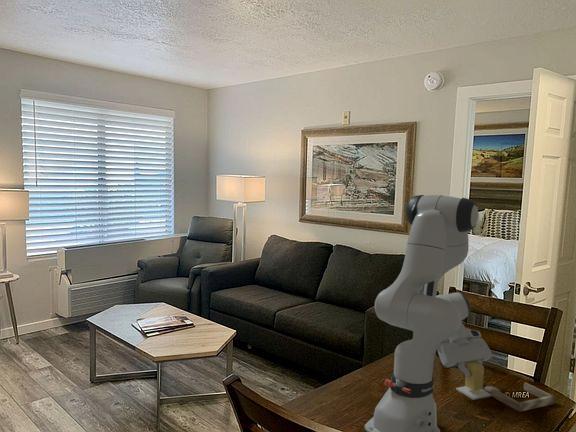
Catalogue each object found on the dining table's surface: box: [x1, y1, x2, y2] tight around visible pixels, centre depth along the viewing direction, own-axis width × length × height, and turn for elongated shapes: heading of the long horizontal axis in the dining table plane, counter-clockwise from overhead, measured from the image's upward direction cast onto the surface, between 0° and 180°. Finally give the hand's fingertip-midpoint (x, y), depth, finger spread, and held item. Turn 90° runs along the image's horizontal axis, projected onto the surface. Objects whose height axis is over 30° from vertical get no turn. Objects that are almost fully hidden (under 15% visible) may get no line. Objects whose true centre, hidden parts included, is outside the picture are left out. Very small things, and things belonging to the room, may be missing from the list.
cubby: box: [491, 382, 556, 413], centre depth 148 cm, size 16×11×2 cm
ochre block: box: [464, 362, 485, 391], centre depth 152 cm, size 4×4×8 cm
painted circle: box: [483, 385, 501, 394], centre depth 155 cm, size 5×5×1 cm
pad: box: [455, 385, 492, 401], centre depth 153 cm, size 8×8×1 cm
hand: (475, 375), depth 152 cm, fingers closed on ochre block, 4 cm apart
